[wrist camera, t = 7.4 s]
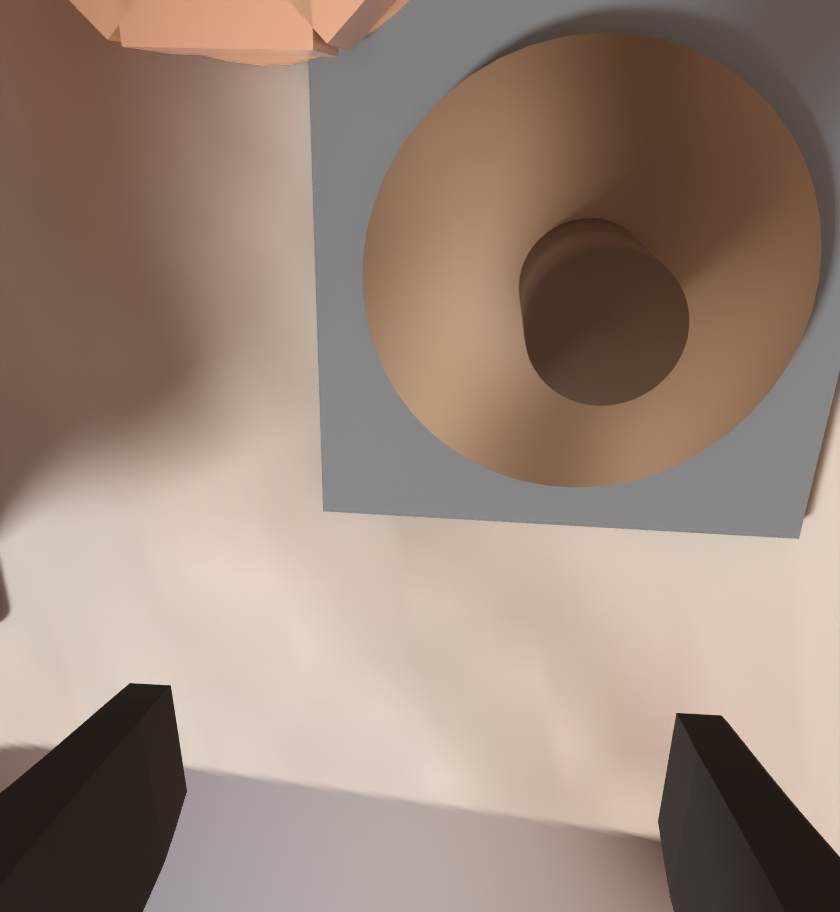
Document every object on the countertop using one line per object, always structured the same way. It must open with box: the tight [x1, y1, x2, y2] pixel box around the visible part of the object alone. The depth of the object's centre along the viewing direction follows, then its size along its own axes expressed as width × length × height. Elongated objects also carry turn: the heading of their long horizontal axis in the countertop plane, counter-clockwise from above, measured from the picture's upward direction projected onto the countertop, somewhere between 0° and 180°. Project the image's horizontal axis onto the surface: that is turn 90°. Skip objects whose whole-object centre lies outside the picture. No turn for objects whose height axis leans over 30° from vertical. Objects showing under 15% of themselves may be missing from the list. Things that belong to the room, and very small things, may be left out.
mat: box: [309, 0, 840, 539], centre depth 18 cm, size 12×12×1 cm
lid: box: [363, 33, 822, 488], centre depth 16 cm, size 10×10×4 cm
